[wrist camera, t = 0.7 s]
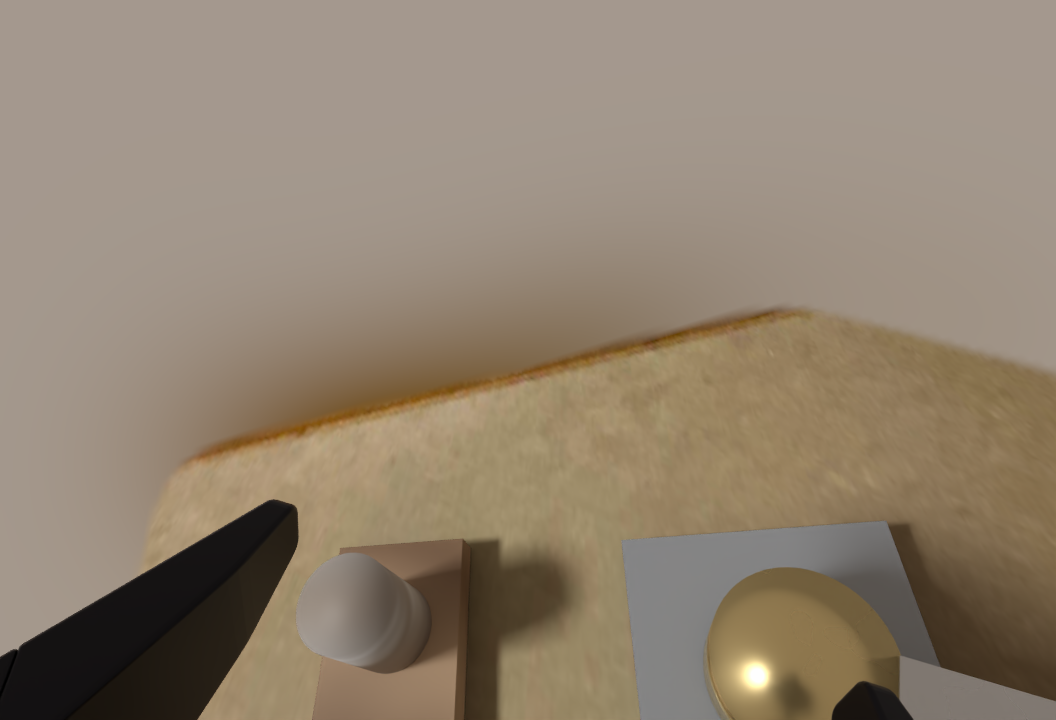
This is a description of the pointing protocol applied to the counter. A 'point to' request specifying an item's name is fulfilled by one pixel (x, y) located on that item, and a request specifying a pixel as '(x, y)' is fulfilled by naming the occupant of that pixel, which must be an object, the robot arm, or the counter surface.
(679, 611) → the plate
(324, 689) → the peg rack
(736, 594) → the lever switch
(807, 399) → the counter surface
